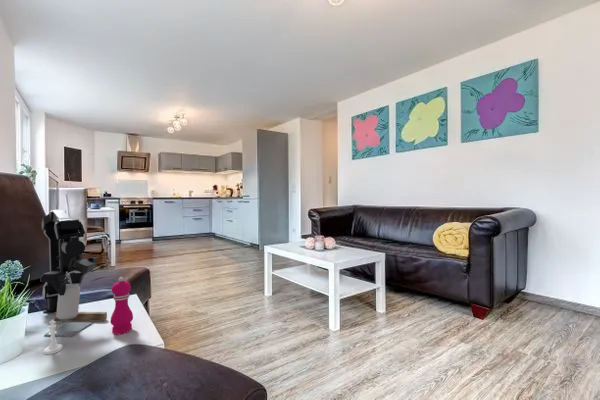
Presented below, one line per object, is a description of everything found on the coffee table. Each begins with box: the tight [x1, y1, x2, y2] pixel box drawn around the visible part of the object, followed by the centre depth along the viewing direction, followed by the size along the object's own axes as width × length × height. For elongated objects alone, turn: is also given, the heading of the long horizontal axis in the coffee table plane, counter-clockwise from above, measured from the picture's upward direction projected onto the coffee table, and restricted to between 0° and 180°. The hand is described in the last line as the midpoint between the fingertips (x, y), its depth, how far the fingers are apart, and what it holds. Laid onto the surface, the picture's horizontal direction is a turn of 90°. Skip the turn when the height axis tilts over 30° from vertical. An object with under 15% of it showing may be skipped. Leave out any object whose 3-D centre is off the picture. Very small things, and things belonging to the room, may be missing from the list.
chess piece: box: [42, 318, 64, 355], centre depth 98 cm, size 5×5×10 cm
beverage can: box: [56, 283, 81, 319], centre depth 111 cm, size 6×6×12 cm
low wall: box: [54, 311, 108, 322], centre depth 120 cm, size 20×2×3 cm, turn 89°
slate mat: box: [43, 321, 93, 338], centre depth 112 cm, size 10×10×1 cm
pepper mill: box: [110, 276, 134, 335], centre depth 111 cm, size 7×7×20 cm
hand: (69, 294), depth 112 cm, fingers closed on beverage can, 6 cm apart
